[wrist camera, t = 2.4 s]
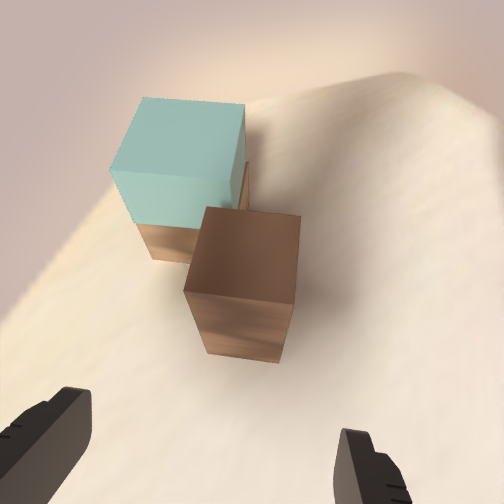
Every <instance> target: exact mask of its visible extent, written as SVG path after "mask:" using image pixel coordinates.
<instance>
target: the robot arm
mask: <svg viewBox="0 0 504 504" xmlns="http://www.w3.org/2000/svg"><path fill="white" fill-rule="evenodd" d="M91 433H92V403H91V392H90V391H89V390H87V389H80V388H73V387H63V388H62V389H61V390H60V391H59V392H58V393H57V394H55V395H54V396H53V397H52V398H51V399H50V400H49V401H48V402H47V401H42V402H40V403H38V404H37V405H35V406H33V407H31V408H29V409H27V410H26V411H24V412H23V413H22V414H21V415H20V416H19V417H18V418H16V419H15V420H14V421H13V422H12V423H11V424H10V426H9V427H6V428H5V429H4V430H3V431H2V432H1V433H0V504H47V503H48V502H49V501H50V499H51V498H52V496H53V495H54V494H55V492H56V491H57V490H58V488H59V487H60V485H61V484H62V483H63V481H64V480H65V479H66V477H67V476H68V474H69V473H70V472H71V470H72V469H73V467H74V466H75V465H76V463H77V462H78V461H79V459H80V458H81V456H82V455H83V454H84V452H85V450H86V449H87V446H88V444H89V441H90V438H91ZM333 488H334V497H335V504H412V500H411V498H410V495H409V492H408V491H407V490H406V485H405V482H404V480H403V477H402V475H401V472H400V470H399V468H398V467H397V466H396V465H395V463H394V462H393V461H392V460H391V459H390V457H389V456H388V455H387V454H385V453H378V452H375V450H374V447H373V444H372V441H371V438H370V435H369V433H368V432H366V431H359V430H352V429H345V428H343V429H342V430H341V434H340V439H339V445H338V450H337V456H336V461H335V467H334V476H333Z"/></svg>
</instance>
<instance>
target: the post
mask: <svg viewBox="0 0 504 504" xmlns="http://www.w3.org/2000/svg"><path fill="white" fill-rule="evenodd" d="M300 222H301V216H293V215H284V214H275V213H266V212H256V211H247V210H238V209H229V208H219V207H210V206H206V209H205V213H204V217H203V220H202V224H201V228H200V231H199V235H198V239H197V243H196V246H195V250H194V254H193V257H192V261H191V265H190V268H189V272H188V276H187V280H186V283H185V287H184V294H185V296H186V299H187V302H188V304H189V307H190V309H191V312H192V314H193V317H194V320H195V322H196V325H197V327H198V330H199V333H200V335H201V338H202V340H203V343H204V345H205V348H206V351H207V353H208V354H214V355H222V356H229V357H236V358H243V359H250V360H257V361H264V362H272V363H279V361H280V357H281V354H282V350H283V346H284V342H285V338H286V334H287V330H288V327H289V323H290V319H291V315H292V311H293V307H294V299H295V287H296V274H297V261H298V248H299V235H300Z"/></svg>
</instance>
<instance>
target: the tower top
mask: <svg viewBox="0 0 504 504" xmlns="http://www.w3.org/2000/svg"><path fill="white" fill-rule="evenodd" d="M245 163H246V141H245V104H232V103H231V104H230V103H217V102H204V101H190V100H175V99H161V98H147V97H143V99H142V101H141V103H140V105H139V107H138V109H137V111H136V114H135V116H134V118H133V120H132V122H131V125H130V126H129V129H128V131H127V133H126V135H125V137H124V139H123V141H122V144H121V146H120V148H119V150H118V152H117V154H116V157H115V159H114V161H113V163H112V165H111V167H110V169H109V171H110V173H111V175H112V178H113V180H114V182H115V184H116V186H117V188H118V190H119V192H120V194H121V196H122V199H123V201H124V203H125V205H126V207H127V209H128V211H129V213H130V215H131V218H132V220H133V222H134V223H139V224H149V225H160V226H171V227H182V228H193V229H200V228H201V224H202V220H203V217H204V213H205V209H206V206H210V207H219V208H229V209H238V204H239V198H240V192H241V186H242V180H243V174H244V169H245Z"/></svg>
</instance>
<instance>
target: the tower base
mask: <svg viewBox="0 0 504 504" xmlns="http://www.w3.org/2000/svg"><path fill="white" fill-rule="evenodd" d="M248 205H249V167H248V162H246V163H245V169H244V174H243V180H242V186H241V192H240V198H239V204H238V210H247V211H248ZM136 225H137V227H138V229H139V231H140V233H141V236H142V238H143V240H144V242H145V244H146V246H147V248H148V250H149V252H150V255H151V257H152V259H154V260H162V261H171V262H180V263H189V264H191V261H192V257H193V254H194V250H195V246H196V243H197V239H198V235H199V231H200V229H193V228H182V227H171V226H160V225H149V224H139V223H136Z"/></svg>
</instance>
